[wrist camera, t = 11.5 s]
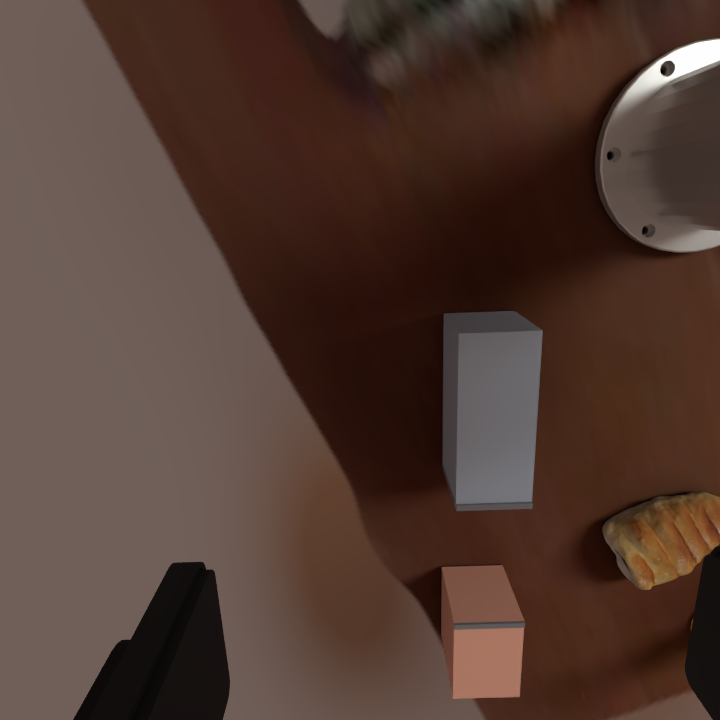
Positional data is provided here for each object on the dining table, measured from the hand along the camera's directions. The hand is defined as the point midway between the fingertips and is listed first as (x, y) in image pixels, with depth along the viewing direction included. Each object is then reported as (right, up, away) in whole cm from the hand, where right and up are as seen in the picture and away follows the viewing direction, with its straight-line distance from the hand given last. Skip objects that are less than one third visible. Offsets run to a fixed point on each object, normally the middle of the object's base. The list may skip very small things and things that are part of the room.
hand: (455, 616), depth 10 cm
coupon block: (+7, +3, +29) cm, 30 cm away
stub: (+8, -15, +34) cm, 38 cm away
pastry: (+22, -9, +32) cm, 40 cm away
